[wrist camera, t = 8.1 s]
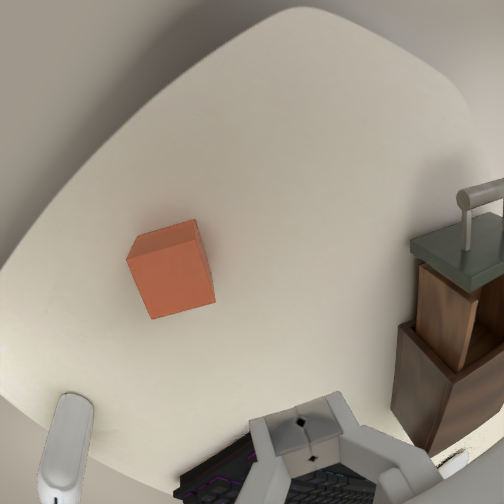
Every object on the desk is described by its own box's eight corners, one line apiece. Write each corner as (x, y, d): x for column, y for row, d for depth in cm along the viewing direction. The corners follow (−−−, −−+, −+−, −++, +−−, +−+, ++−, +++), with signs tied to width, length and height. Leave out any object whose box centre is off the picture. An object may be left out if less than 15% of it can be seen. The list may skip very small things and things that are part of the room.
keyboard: (402, 471, 47) (412, 488, 43) (339, 510, 49) (347, 527, 45) (256, 422, 31) (266, 457, 27) (171, 477, 34) (172, 507, 29)
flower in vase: (457, 462, 56) (499, 522, 33) (423, 482, 55) (463, 548, 32) (473, 437, 51) (522, 504, 28) (436, 460, 50) (485, 535, 27)
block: (136, 236, 22) (125, 259, 18) (194, 218, 22) (195, 238, 18) (156, 288, 24) (151, 320, 20) (211, 273, 24) (216, 302, 20)
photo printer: (89, 447, 29) (77, 532, 18) (56, 436, 28) (38, 518, 17) (99, 400, 27) (80, 504, 16) (60, 386, 26) (29, 486, 14)
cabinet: (398, 325, 30) (453, 385, 21) (479, 285, 31) (535, 325, 22) (390, 409, 36) (424, 461, 27) (461, 370, 37) (499, 411, 28)
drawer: (406, 183, 23) (476, 208, 16) (489, 164, 24) (550, 182, 17) (405, 354, 31) (444, 401, 23) (477, 316, 31) (517, 350, 24)
